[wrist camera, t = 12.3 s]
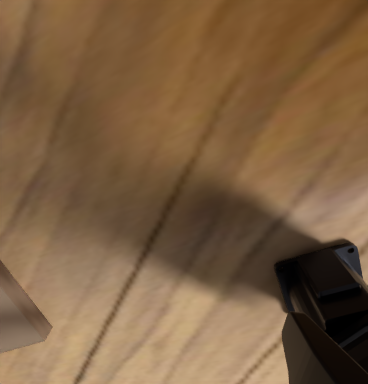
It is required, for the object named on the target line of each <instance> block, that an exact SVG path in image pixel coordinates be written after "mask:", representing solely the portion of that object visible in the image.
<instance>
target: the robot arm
mask: <svg viewBox="0 0 368 384" xmlns="http://www.w3.org/2000/svg"><path fill="white" fill-rule="evenodd" d="M349 248H351V249H350V250H348V249H349ZM281 267H283V268H282V269H279V268H281ZM274 269H275V272H276V275H277V278H278V282H279V285H280V288H281V291H282V294H283V297H284V300H285V303H286V306H287V309H288V312H289V313H288V314H287V317H286V320H285V323H284V327H283V330H282V342H283V347H284V352H285V357H286V362H287V367H288V374H289V384H368V285H367V284H366V283H365V282H364V280H363V277H362V271H361V265H360V260H359V254H358V249H357V247H356V246H355V245H354V244H353V243H351V242H349V243H344V244H341V245H337V246H334V247H330V248H327V249H323V250H320V251H316V252H313V253H309V254H306V255H302V256H299V257H295V258H292V259H288V260H285V261H281V262H278V263H276V264H275V266H274Z"/></svg>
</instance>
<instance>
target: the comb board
mask: <svg viewBox="0 0 368 384" xmlns="http://www.w3.org/2000/svg"><path fill="white" fill-rule="evenodd" d="M51 329H52V326H51V325H50V323H49V322H48V321H47V320H46V318H45V317H44V316H43V315H42V313H41V312H40V311H39V309H38V308H37V307H36V306H35V304H34V303H33V302H32V300H31V299H30V298H29V297H28V295H27V294H26V293H25V292H24V290H23V289H22V288H21V286H20V285H19V284H18V283H17V281H16V280H15V279H14V277H13V276H12V275H11V274H10V272H9V271H8V270H7V269H6V267H5V266H4V265H3V263H2V262H1V261H0V353H3V352H7V351H10V350H14V349H18V348H21V347H25V346H29V345H32V344H36V343H39V342H43V341H45V340H46V338H47V336H48V334H49V333H50V331H51Z"/></svg>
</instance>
